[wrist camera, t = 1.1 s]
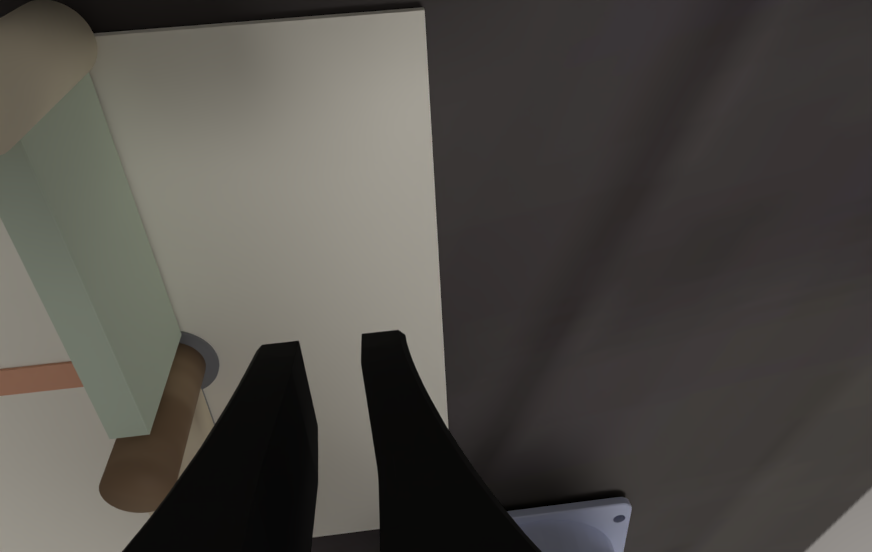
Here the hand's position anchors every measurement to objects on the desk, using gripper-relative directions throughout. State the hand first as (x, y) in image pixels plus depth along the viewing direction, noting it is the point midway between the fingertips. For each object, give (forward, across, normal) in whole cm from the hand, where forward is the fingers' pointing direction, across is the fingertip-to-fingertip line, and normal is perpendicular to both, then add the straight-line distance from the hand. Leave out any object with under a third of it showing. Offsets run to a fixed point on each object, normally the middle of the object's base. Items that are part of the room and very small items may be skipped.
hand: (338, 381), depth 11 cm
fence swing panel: (+8, +6, 0) cm, 10 cm away
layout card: (+8, +6, +6) cm, 12 cm away
